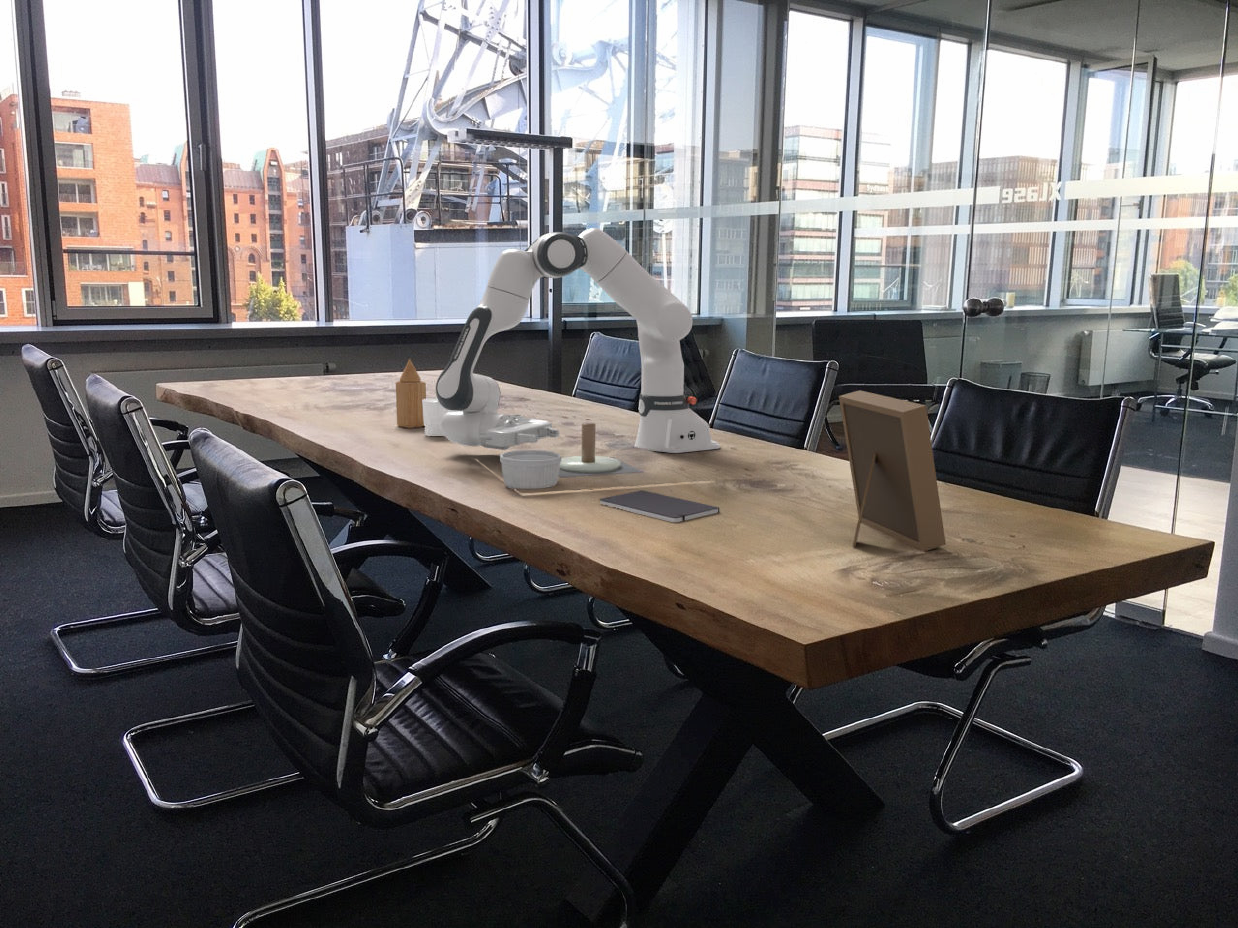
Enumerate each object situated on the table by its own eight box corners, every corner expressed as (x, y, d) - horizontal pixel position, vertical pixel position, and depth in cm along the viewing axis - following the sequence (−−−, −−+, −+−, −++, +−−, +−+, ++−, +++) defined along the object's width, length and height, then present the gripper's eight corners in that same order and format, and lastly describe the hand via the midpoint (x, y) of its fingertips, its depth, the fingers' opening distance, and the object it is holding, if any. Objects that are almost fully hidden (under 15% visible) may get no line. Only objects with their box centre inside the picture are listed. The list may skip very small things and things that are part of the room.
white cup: (436, 438, 286) (435, 402, 284) (417, 435, 291) (416, 399, 289) (457, 434, 292) (456, 399, 291) (437, 431, 297) (437, 397, 295)
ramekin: (574, 486, 226) (574, 454, 225) (528, 495, 217) (528, 462, 215) (532, 477, 235) (532, 447, 234) (487, 486, 225) (487, 454, 224)
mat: (613, 459, 258) (613, 456, 257) (643, 474, 239) (643, 471, 239) (535, 463, 251) (535, 461, 250) (560, 479, 232) (560, 477, 232)
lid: (607, 459, 254) (607, 417, 252) (629, 470, 241) (630, 427, 239) (548, 462, 249) (548, 420, 247) (568, 474, 235) (568, 429, 233)
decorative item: (396, 426, 307) (394, 358, 303) (415, 424, 311) (413, 356, 308) (408, 428, 302) (406, 359, 298) (427, 426, 307) (426, 358, 303)
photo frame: (879, 520, 198) (886, 389, 194) (945, 550, 178) (955, 404, 173) (808, 525, 194) (814, 391, 189) (868, 556, 174) (876, 407, 169)
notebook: (719, 515, 203) (642, 497, 218) (719, 507, 203) (642, 490, 218) (674, 525, 195) (597, 506, 210) (675, 517, 194) (597, 498, 209)
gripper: (473, 424, 246) (522, 429, 240) (523, 413, 264) (569, 418, 257) (474, 450, 248) (522, 456, 241) (523, 438, 265) (569, 443, 258)
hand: (547, 436), depth 249 cm, fingers open, 8 cm apart
